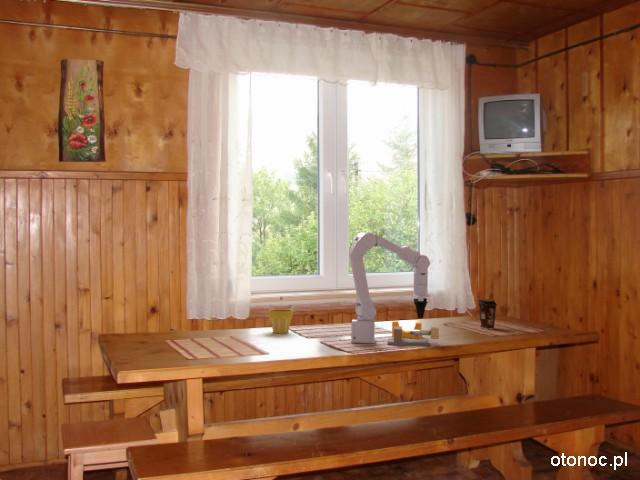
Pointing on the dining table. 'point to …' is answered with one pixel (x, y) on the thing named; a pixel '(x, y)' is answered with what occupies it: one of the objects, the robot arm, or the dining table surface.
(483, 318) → the coffee cup
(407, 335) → the pipe clamp
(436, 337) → the pin
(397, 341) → the eye block
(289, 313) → the plant pot
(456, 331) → the dining table surface
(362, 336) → the robot arm
